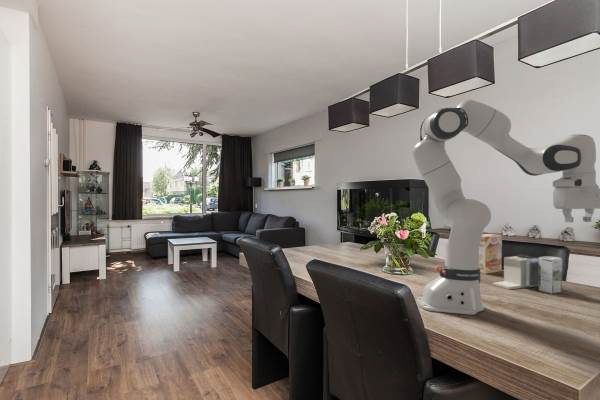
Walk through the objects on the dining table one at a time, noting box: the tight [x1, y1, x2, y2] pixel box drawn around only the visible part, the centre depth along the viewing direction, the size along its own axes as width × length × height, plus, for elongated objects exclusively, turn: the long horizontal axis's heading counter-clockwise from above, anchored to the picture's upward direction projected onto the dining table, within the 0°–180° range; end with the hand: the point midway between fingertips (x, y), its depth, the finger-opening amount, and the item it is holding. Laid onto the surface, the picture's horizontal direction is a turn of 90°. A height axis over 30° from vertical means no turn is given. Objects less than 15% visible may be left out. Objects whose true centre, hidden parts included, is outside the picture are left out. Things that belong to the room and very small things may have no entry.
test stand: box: [492, 255, 539, 290], centre depth 149 cm, size 8×26×12 cm, turn 109°
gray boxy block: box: [517, 253, 539, 285], centre depth 147 cm, size 10×12×11 cm
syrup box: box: [537, 255, 563, 295], centre depth 138 cm, size 6×6×14 cm
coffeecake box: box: [479, 233, 503, 275], centre depth 176 cm, size 15×7×20 cm, turn 119°
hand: (578, 222), depth 114 cm, fingers open, 8 cm apart
